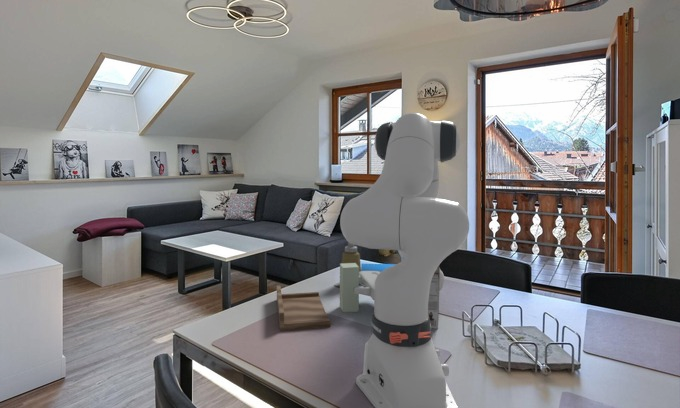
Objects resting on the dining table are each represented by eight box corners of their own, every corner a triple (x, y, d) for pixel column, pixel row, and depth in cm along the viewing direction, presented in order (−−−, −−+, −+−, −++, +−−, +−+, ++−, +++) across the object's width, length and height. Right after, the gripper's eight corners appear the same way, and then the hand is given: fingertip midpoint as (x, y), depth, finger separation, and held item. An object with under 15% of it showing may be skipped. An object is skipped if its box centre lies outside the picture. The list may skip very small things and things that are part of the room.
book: (360, 263, 168) (421, 263, 166) (360, 273, 168) (421, 273, 167) (360, 275, 151) (428, 275, 149) (360, 286, 151) (427, 286, 150)
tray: (330, 326, 112) (330, 309, 112) (279, 330, 110) (279, 313, 109) (318, 297, 137) (318, 282, 136) (276, 299, 134) (276, 285, 133)
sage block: (358, 311, 124) (359, 267, 122) (342, 312, 123) (342, 267, 121) (355, 305, 129) (355, 262, 127) (339, 306, 128) (339, 263, 126)
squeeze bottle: (348, 280, 156) (348, 234, 154) (365, 283, 151) (366, 236, 149) (335, 285, 149) (335, 237, 147) (354, 289, 145) (354, 240, 143)
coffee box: (415, 315, 121) (417, 262, 119) (437, 316, 120) (439, 264, 118) (415, 327, 112) (416, 271, 110) (438, 329, 111) (440, 272, 109)
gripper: (383, 265, 137) (344, 267, 135) (404, 283, 117) (358, 285, 115) (383, 283, 138) (344, 285, 136) (403, 303, 118) (357, 306, 116)
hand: (350, 285), depth 125 cm, fingers open, 8 cm apart
